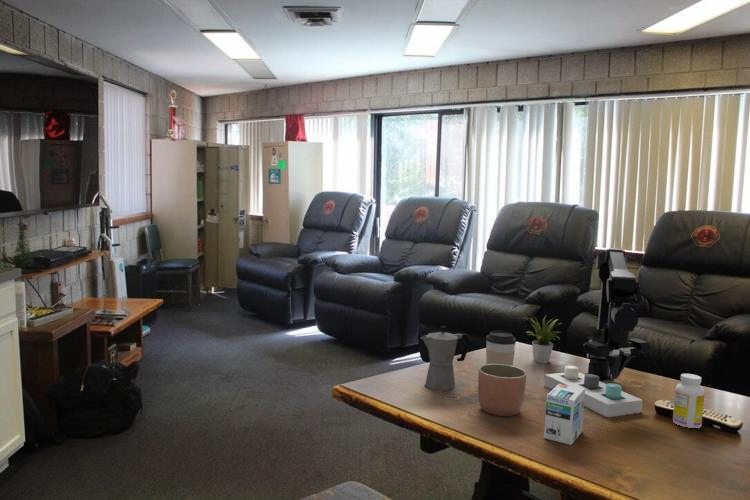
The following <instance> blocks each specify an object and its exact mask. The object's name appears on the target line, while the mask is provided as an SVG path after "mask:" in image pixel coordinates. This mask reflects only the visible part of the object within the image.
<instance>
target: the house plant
mask: <svg viewBox="0 0 750 500" xmlns="http://www.w3.org/2000/svg"><path fill="white" fill-rule="evenodd" d="M546 317H547V314H546V315H545V316H544V318H542V323H541V324H542V325H540V323H539V321H538V319H537V318H536V317H535V316H533V319H532V318H529V319H530V320H529V319H527V318H526V317H521V318H523V319H524V318H525V319H526V320H527V321H530V322H531V326H532V328H534V330H535V331H534V332H535V334H534V333H533V332H532V331H531V330H527V331H526V332H525V333H527V336H534V337H535V338H536V340H533V341H532V342H531V344H532V356H533V361H534V362H536V363H540V364H549V362H550V360H551V355H552V351H553V348H554V343H552V342H550V340H554V341H557V340H556V338H557V339H558V340H559V341H561V339H560V337H559V336H558V335H557V334H559V333H560V334H561V333H562V332H561V331H559V330H555V331H552V330H553V328H554V327H555V324H556V322H557V321H558V320H559V319H558V318H557V319H555V320H553V318H552V319H550V320H549V322H551V323H550V324H549V322H547V323H546ZM534 318H535V319H534ZM535 320H536V321H535ZM548 324H549V325H548ZM561 324H562V322H560V323H559V325H561Z"/></svg>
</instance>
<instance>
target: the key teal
mask: <svg viewBox="0 0 750 500" xmlns="http://www.w3.org/2000/svg"><path fill="white" fill-rule="evenodd" d="M605 384H606V392H605V397H606V398H608V399H611V400H621V392H622V391H623V387H622V385H620V384H618V383H612V382H611V383H605Z"/></svg>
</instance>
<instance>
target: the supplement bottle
mask: <svg viewBox="0 0 750 500" xmlns="http://www.w3.org/2000/svg"><path fill="white" fill-rule="evenodd" d="M679 379H680V382H679V383H677V384H676V386H675V390H674V401H673V412H672V413H673V414H672V421H673V423H674V424H675V425H676V424H677V425H676V426H678V425H680V426H683V427H682V428H684V427H688V428H687V429H689V428H698V429H700V428H701V427H702V425H703V415H704V404H705V403H704V402H705V389H704V388H703V387H702V386H701V383H702V376H699V375H697V374H693V373H681V374H680V378H679ZM680 426H679V427H680Z"/></svg>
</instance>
